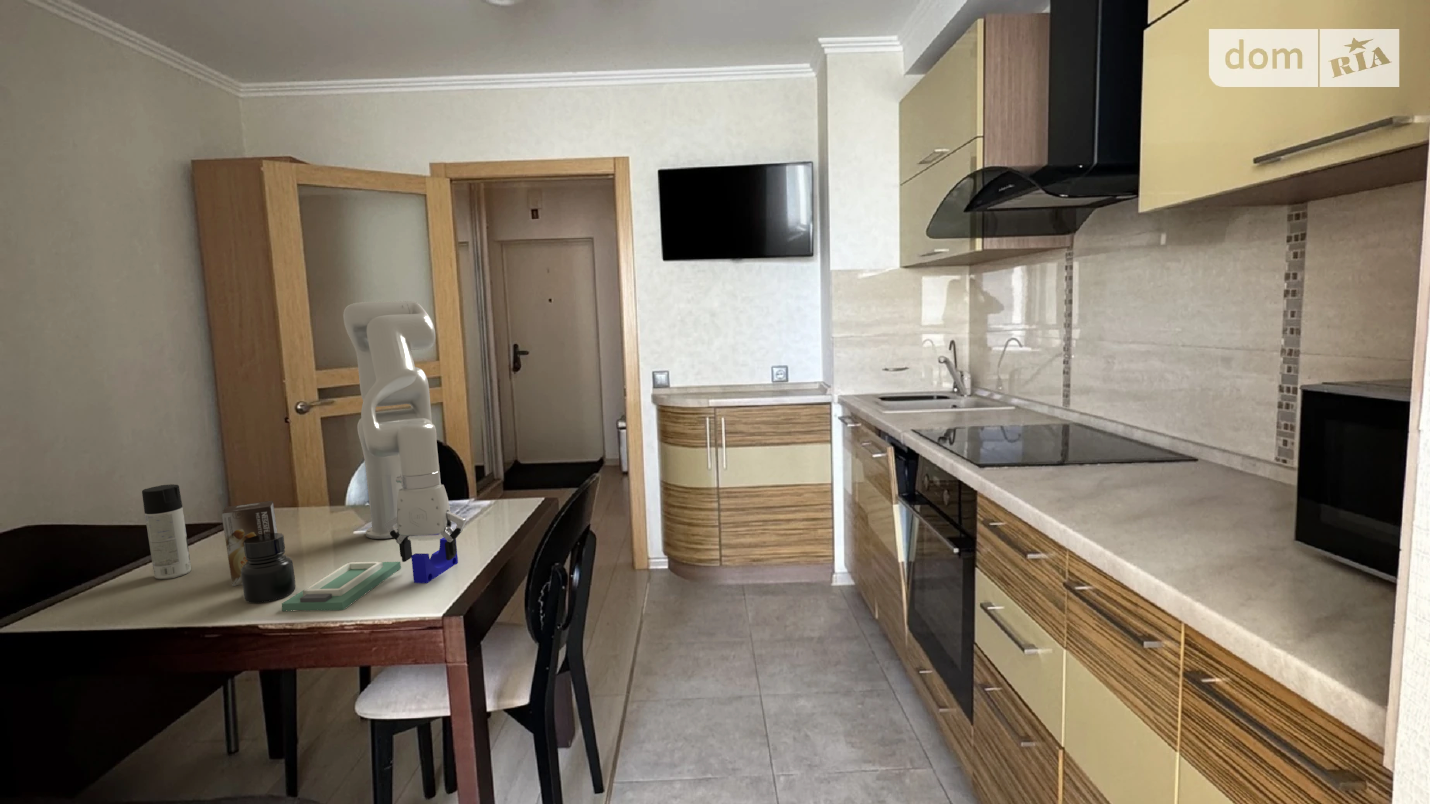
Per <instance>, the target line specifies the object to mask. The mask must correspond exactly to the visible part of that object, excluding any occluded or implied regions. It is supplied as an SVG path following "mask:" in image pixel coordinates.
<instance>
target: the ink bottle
mask: <svg viewBox="0 0 1430 804" xmlns="http://www.w3.org/2000/svg"><path fill="white" fill-rule="evenodd" d="M243 544H244V552H245V556H246V560H248V561H247V562H246V564H245V565H244V566H243V567H242V569H241V577H242V584H241V585H242V590H243V591H242V593H243V598H244V600H245V602H247V603H250V604H253V603H254V604H259V603H260V604H261V603H266V602H267V603H268V602H272V601H276V600H280V599H283V598H285V597H289V595H291V594H292V593H294V592H295V590H296V577H295V576H296V575H295V570H294V563H293V559H292V558H291V557H290V556H288V555H286V554H285V552H286V544H285V537H284V534H283V533H282V532H277V533H269V534H262V535H257V536H254V537H251V538H248V539H246V540H244V542H243Z"/></svg>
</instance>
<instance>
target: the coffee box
mask: <svg viewBox="0 0 1430 804" xmlns="http://www.w3.org/2000/svg"><path fill="white" fill-rule="evenodd" d="M221 519H222V526H223V532H224V539H225V546H226V552H227V561H228V567H229V571H230V578H231V579H230V580H231V586H232V587H235V586H236V587H237V586H241V585H242V577H241V569H242V567H243V566H244V565H245V564H246V562H247V561H248V560H246V556H245V552H244V544H243V542H244V540H246V539H248V538H251V537H254V536H257V535H262V534H269V533H278V529H277V521H276V513H275V506H274V501H273V500H269V501H261V502H260V501H259V502H254V503H253V502H252V503H246V504H245V503H244V504H239V505H230V506H225V507H224V508H223V510H222V513H221Z"/></svg>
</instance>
